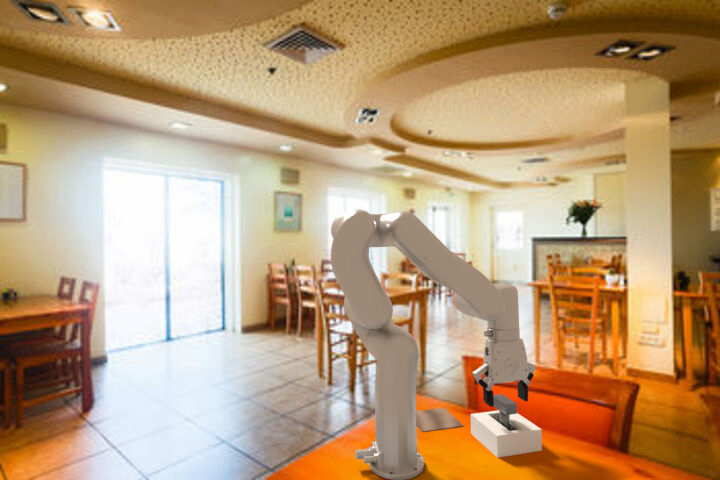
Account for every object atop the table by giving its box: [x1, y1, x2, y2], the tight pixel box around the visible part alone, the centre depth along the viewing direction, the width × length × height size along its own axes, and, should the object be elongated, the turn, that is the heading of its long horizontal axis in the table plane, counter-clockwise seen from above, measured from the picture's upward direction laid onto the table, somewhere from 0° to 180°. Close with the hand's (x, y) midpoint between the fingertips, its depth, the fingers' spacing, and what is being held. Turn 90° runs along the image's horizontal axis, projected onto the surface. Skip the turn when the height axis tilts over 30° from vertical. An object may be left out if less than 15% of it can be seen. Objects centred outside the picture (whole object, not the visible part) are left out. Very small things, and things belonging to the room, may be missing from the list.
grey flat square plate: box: [416, 407, 464, 433], centre depth 111 cm, size 12×12×1 cm
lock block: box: [470, 409, 543, 458], centre depth 98 cm, size 12×12×6 cm
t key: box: [493, 393, 518, 431], centre depth 98 cm, size 8×6×10 cm
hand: (506, 402), depth 99 cm, fingers open, 9 cm apart
